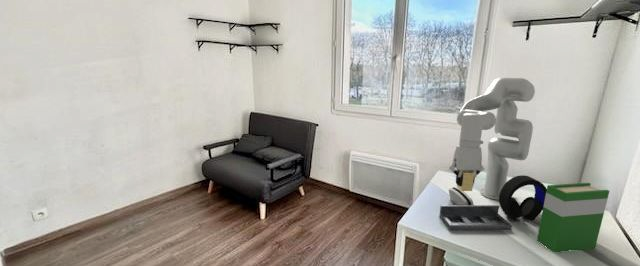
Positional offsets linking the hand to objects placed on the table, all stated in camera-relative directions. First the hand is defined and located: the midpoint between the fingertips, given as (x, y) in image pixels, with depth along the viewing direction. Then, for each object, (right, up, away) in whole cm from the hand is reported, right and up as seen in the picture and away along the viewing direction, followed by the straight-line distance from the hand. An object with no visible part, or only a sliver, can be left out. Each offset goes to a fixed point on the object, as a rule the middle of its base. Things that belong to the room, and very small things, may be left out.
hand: (464, 184), depth 120 cm
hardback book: (+35, -22, -9) cm, 42 cm away
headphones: (+30, -18, +10) cm, 36 cm away
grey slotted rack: (+7, -19, +5) cm, 21 cm away
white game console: (+9, -15, +21) cm, 28 cm away
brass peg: (0, -2, 0) cm, 2 cm away
